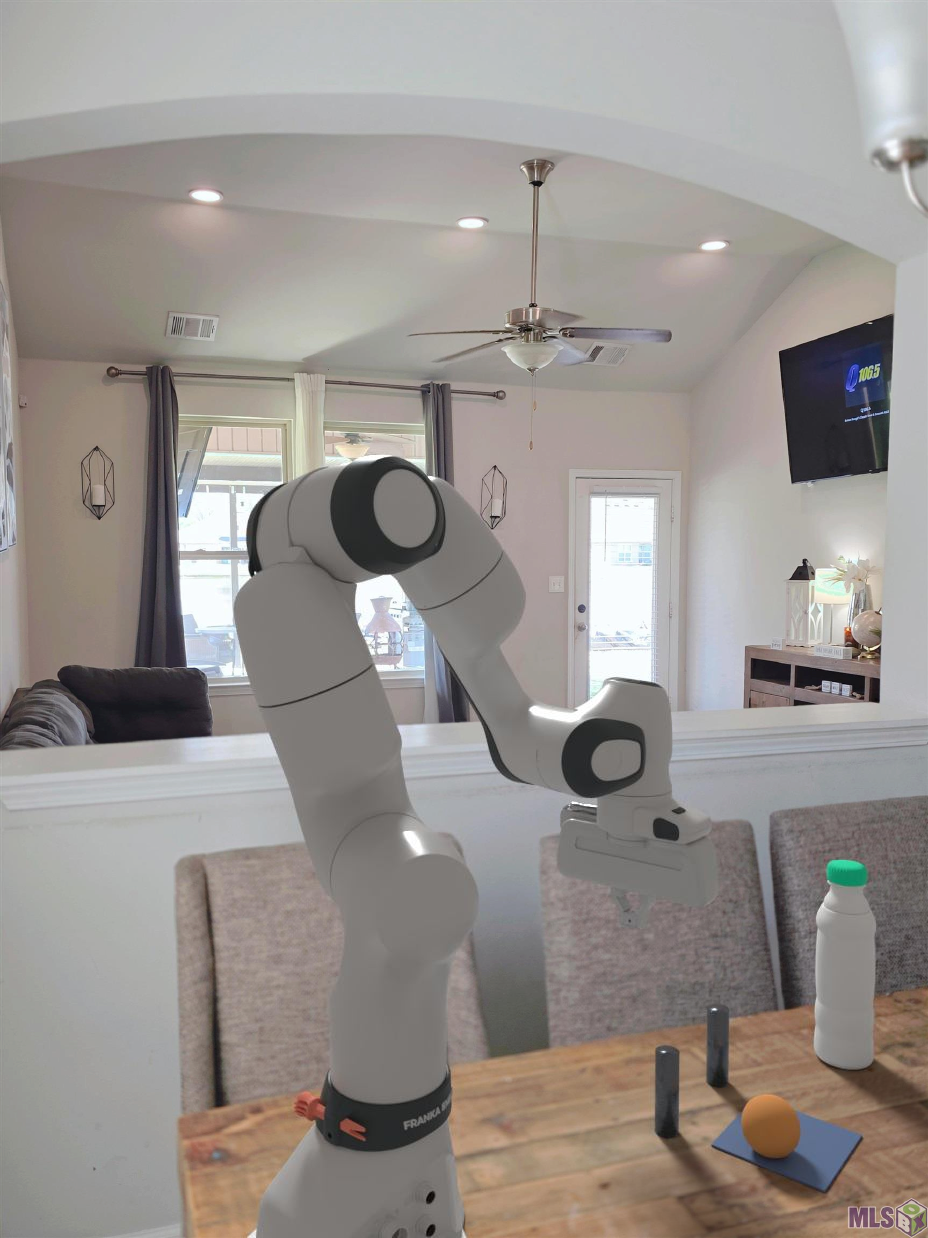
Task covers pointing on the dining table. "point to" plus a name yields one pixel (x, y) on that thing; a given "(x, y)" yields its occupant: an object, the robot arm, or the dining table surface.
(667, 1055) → the near post
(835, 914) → the water bottle
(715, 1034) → the far post
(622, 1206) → the dining table surface
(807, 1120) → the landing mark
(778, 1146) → the ball
